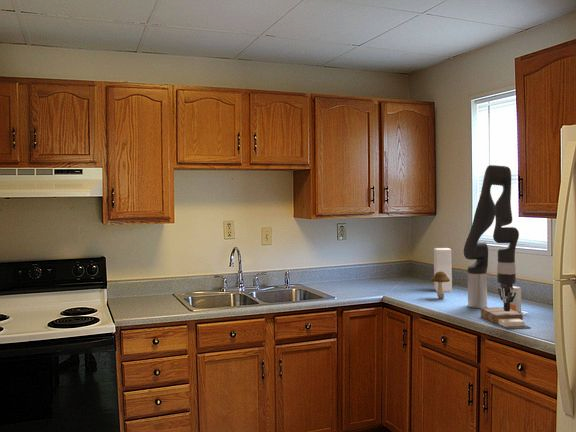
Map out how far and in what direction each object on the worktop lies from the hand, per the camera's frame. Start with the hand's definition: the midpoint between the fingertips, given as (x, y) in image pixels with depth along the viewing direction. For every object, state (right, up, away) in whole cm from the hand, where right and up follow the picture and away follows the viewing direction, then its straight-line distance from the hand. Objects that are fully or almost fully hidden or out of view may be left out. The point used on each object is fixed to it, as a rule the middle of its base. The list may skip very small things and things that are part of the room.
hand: (506, 311), depth 244 cm
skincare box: (+12, -4, +23) cm, 26 cm away
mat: (+1, -5, -7) cm, 9 cm away
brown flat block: (0, -5, +6) cm, 8 cm away
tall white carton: (-5, -2, +84) cm, 84 cm away
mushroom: (-13, -4, +59) cm, 61 cm away
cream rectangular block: (0, -5, -5) cm, 7 cm away
